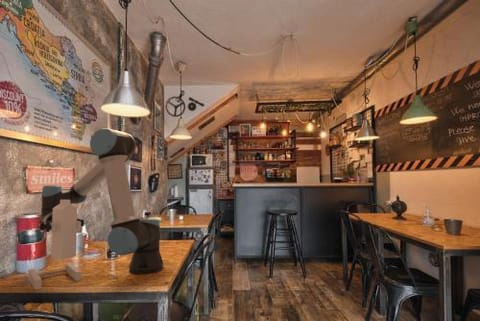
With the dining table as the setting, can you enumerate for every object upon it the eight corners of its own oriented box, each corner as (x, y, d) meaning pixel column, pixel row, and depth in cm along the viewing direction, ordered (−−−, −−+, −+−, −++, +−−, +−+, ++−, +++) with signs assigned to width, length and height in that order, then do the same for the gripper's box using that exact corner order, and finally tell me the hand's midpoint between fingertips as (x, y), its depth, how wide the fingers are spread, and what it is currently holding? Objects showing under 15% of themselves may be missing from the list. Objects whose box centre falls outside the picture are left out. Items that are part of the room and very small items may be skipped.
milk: (61, 260, 109) (62, 200, 111) (50, 258, 112) (52, 200, 113) (76, 256, 115) (77, 199, 116) (66, 254, 117) (67, 199, 119)
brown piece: (28, 277, 127) (28, 269, 127) (69, 269, 138) (70, 262, 138) (35, 289, 112) (35, 280, 112) (81, 280, 123) (81, 271, 123)
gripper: (81, 227, 134) (96, 233, 117) (25, 233, 120) (33, 241, 103) (81, 210, 134) (96, 214, 117) (26, 214, 121) (34, 219, 104)
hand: (67, 226), depth 110 cm, fingers closed on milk, 8 cm apart
